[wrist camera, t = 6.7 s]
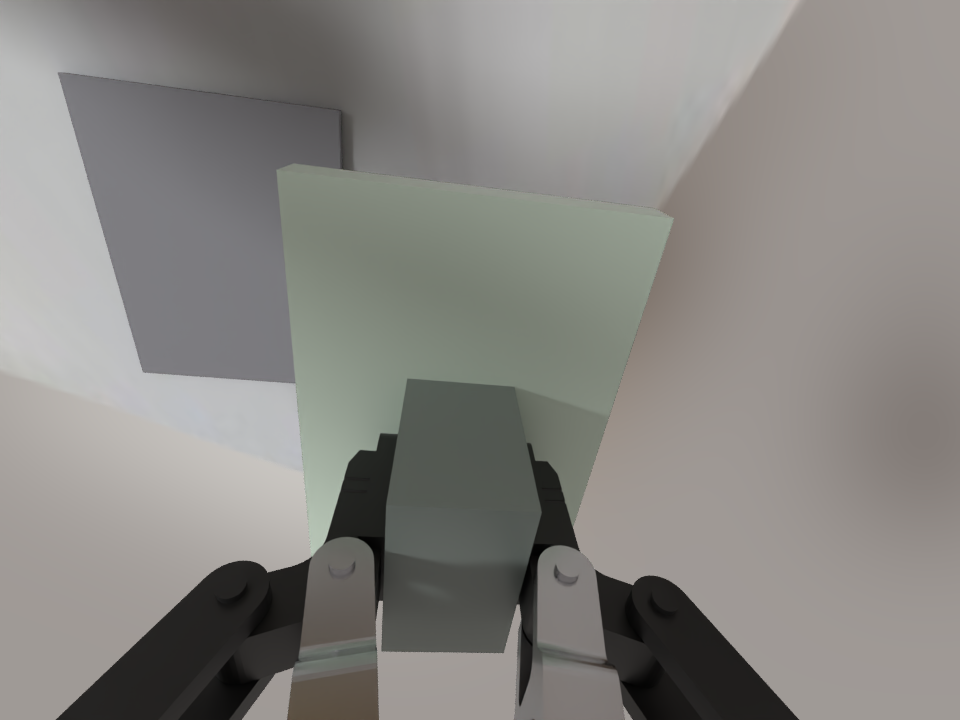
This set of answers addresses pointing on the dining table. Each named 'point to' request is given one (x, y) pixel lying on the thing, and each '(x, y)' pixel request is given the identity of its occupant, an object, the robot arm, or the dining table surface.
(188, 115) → the mat
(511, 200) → the lid
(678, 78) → the dining table surface
